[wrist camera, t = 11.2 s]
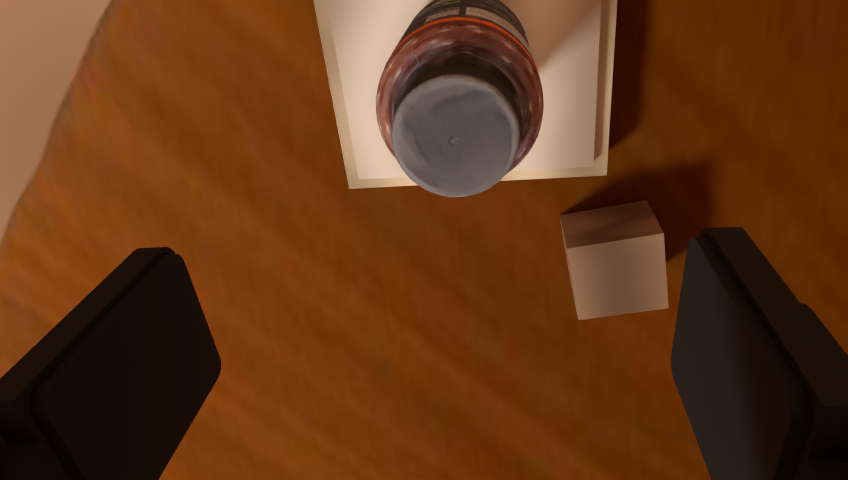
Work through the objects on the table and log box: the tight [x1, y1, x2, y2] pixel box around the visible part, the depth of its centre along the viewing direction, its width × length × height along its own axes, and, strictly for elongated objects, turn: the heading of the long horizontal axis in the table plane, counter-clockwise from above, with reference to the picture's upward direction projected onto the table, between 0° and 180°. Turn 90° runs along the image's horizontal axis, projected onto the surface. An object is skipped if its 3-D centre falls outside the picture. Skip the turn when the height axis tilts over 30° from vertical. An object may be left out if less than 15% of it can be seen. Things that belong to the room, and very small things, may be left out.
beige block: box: [560, 200, 668, 320], centre depth 33 cm, size 5×5×4 cm
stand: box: [314, 0, 617, 189], centre depth 28 cm, size 14×14×3 cm
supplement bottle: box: [376, 0, 544, 197], centre depth 22 cm, size 6×6×11 cm
